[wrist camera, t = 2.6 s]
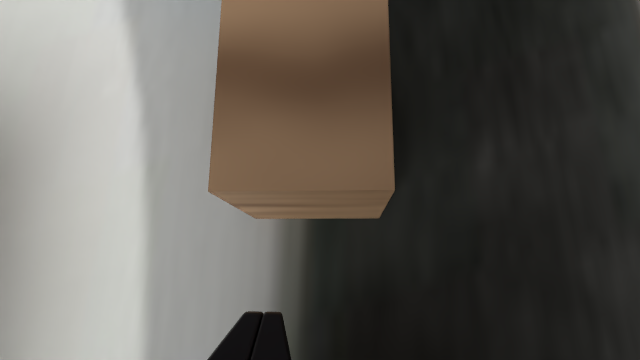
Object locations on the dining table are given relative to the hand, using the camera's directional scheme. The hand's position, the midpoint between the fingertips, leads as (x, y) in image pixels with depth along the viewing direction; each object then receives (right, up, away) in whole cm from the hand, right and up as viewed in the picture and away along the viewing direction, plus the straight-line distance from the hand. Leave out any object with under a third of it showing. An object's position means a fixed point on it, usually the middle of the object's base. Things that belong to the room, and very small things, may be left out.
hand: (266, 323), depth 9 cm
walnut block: (+1, +5, +15) cm, 16 cm away
